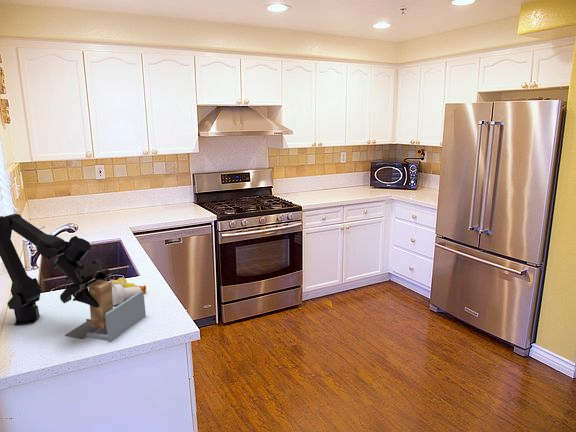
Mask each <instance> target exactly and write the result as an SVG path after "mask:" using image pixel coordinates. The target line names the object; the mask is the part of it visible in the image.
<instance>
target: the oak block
mask: <svg viewBox="0 0 576 432" xmlns="http://www.w3.org/2000/svg"><path fill="white" fill-rule="evenodd" d="M88 291H89V294H90V295H91V296H92V297H93V298H94V299H95V300H96V302H97V303H98V304H99V307H98V308H96V307H93V306H91V305H89V311H90V313H89V314H90V315H89V316H90V318H86V319H85V322H86V321H88V322H91V327H96V328H98V329H101V330H105V329H107V327H106V319H105V313H107V312H109V311H110V310H112V309H113V308H114V305H113V299H112V283H111V282H110V281H108V280H106V281H103V280H98V281H96V282H94V283H92V284H90V285H88ZM90 319H91V320H90Z"/></svg>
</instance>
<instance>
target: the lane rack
mask: <svg viewBox="0 0 576 432" xmlns="http://www.w3.org/2000/svg"><path fill="white" fill-rule="evenodd" d="M145 304H146V303H145V293H143V291H140V292H138V293H137V294H135V295H134V296H132V297H130V298H129V299H125V300H124V301H123V302H122V303H121V304H119V305H116V306H115V307H113V309H112V310H110V311H109V312H107V313H105V319H106V327H107V328H106V334H104V333H103V334H102V333H96V332H92V333H91V332H88V333H86V335H87V337H86V338H88V339H94V340H99V341H100V340H101V341H102V340H103V341H108V343H112V342H113V341H115V340H117V338H118V337H119V336H121V335H123V334H124V333H126V331H127V330H129V329H130V328H132V327H133V326H135V325H136V324H137V323H138V322H140V321H141V320H143V319H144V318H145V317H146V316H147V315H146V314H147V313H146V305H145Z"/></svg>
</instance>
